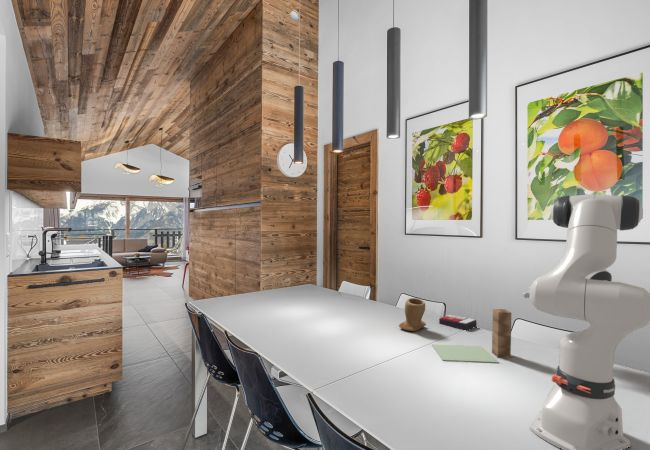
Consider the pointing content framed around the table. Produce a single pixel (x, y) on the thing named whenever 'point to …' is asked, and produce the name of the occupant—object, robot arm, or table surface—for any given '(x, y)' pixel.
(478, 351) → the mat
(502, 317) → the walnut pillar
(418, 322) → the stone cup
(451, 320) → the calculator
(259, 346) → the table surface
